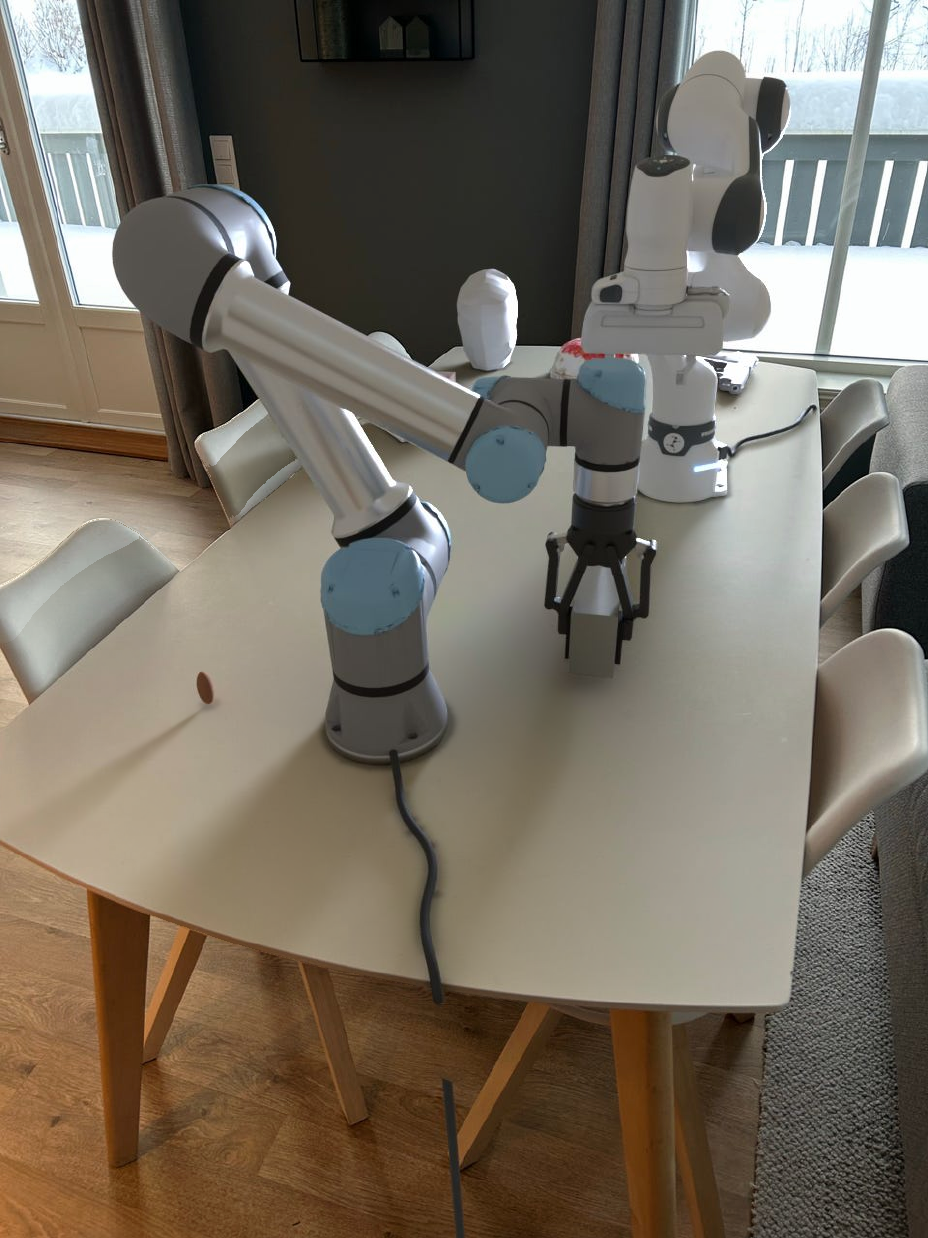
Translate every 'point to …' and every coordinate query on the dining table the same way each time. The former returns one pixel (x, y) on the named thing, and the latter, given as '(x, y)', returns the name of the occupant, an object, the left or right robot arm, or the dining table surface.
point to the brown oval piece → (205, 687)
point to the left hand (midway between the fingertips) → (593, 655)
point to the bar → (594, 624)
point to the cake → (576, 360)
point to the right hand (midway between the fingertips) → (648, 383)
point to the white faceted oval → (488, 319)
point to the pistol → (731, 369)
